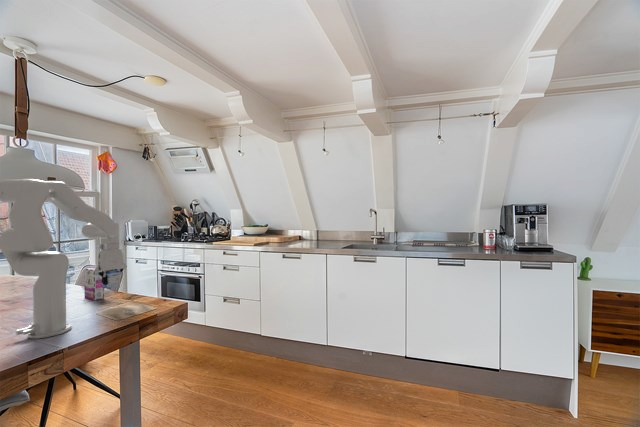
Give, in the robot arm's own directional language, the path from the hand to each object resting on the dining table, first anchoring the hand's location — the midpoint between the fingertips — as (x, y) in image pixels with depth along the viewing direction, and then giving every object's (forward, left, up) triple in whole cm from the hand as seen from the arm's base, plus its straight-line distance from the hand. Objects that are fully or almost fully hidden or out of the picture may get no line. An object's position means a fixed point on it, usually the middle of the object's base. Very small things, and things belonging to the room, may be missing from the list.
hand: (111, 283), depth 147 cm
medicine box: (0, 0, -3) cm, 3 cm away
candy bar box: (+3, +24, -12) cm, 27 cm away
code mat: (0, -15, -12) cm, 19 cm away
